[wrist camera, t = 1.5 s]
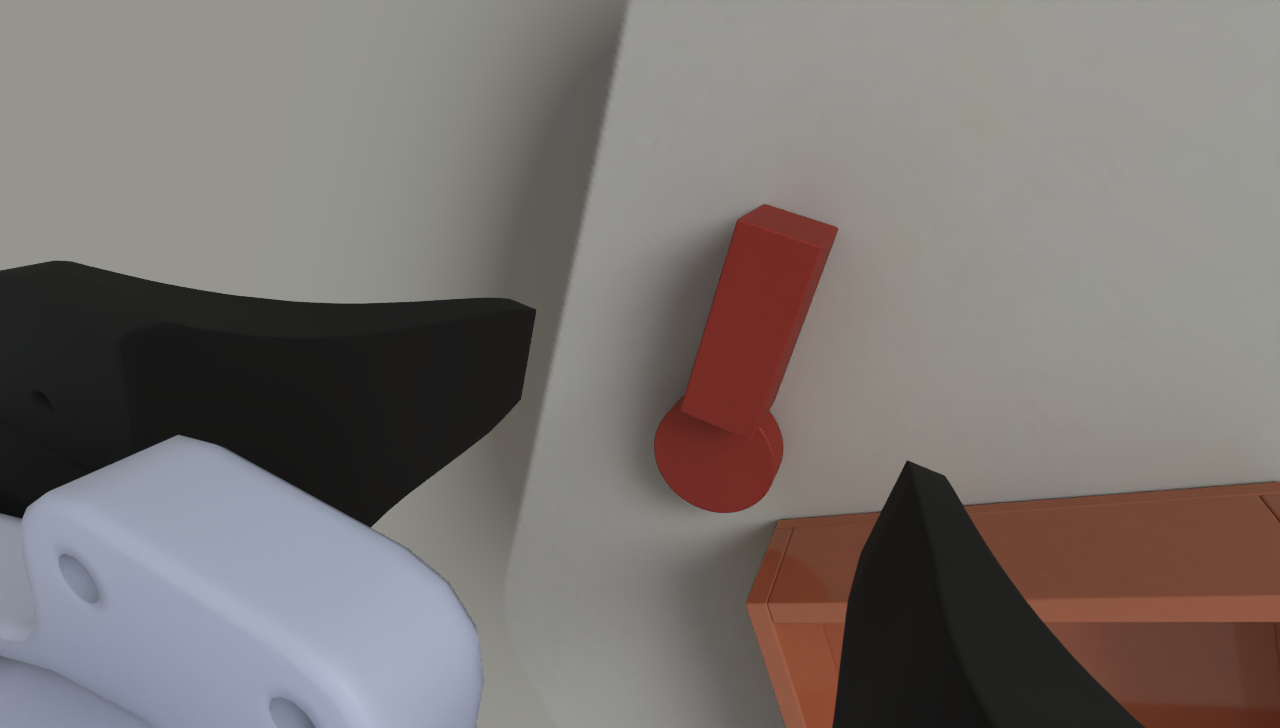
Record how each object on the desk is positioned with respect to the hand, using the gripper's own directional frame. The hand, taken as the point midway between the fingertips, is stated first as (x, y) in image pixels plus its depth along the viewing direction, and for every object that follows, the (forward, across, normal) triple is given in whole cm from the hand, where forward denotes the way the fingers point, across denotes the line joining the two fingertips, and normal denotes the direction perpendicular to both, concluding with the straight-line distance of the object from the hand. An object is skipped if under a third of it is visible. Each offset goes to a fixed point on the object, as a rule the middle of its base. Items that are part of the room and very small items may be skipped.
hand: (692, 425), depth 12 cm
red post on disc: (+7, 0, +2) cm, 7 cm away
